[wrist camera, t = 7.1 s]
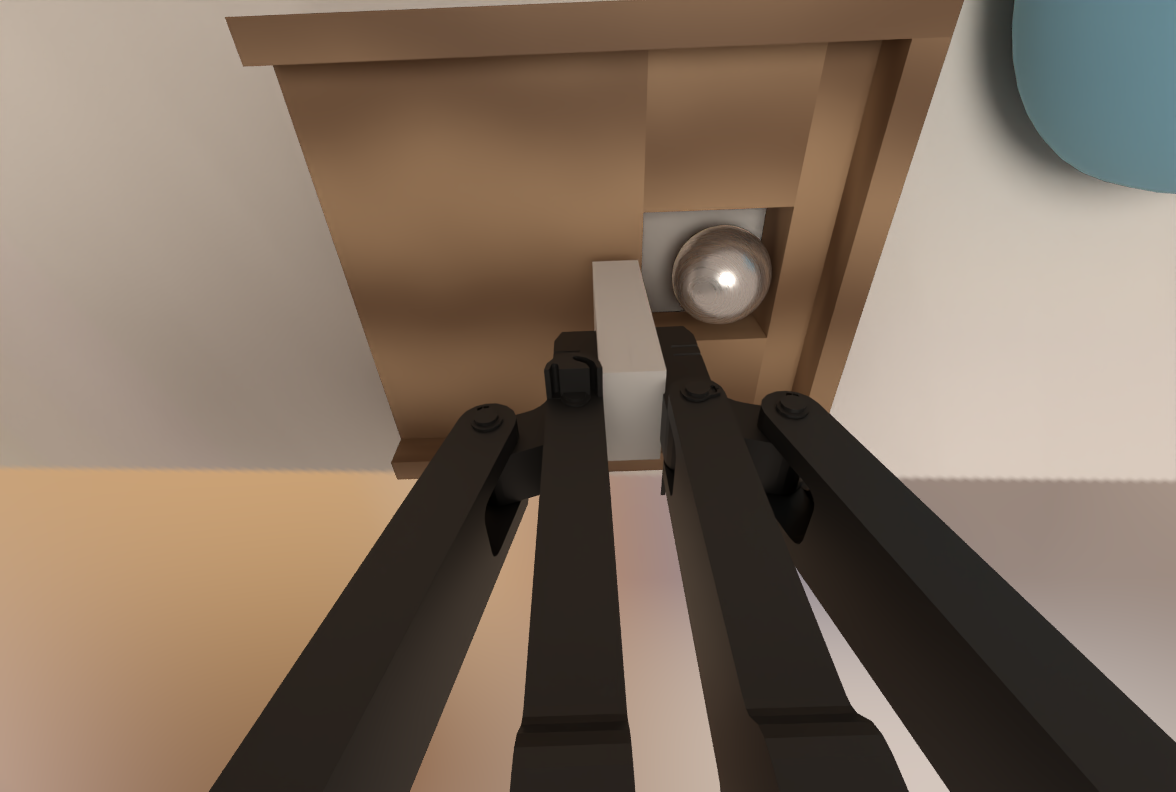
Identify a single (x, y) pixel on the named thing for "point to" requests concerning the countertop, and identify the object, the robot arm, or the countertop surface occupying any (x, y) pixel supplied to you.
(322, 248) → the countertop surface
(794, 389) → the tray
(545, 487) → the robot arm
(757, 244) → the ball
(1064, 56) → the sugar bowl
